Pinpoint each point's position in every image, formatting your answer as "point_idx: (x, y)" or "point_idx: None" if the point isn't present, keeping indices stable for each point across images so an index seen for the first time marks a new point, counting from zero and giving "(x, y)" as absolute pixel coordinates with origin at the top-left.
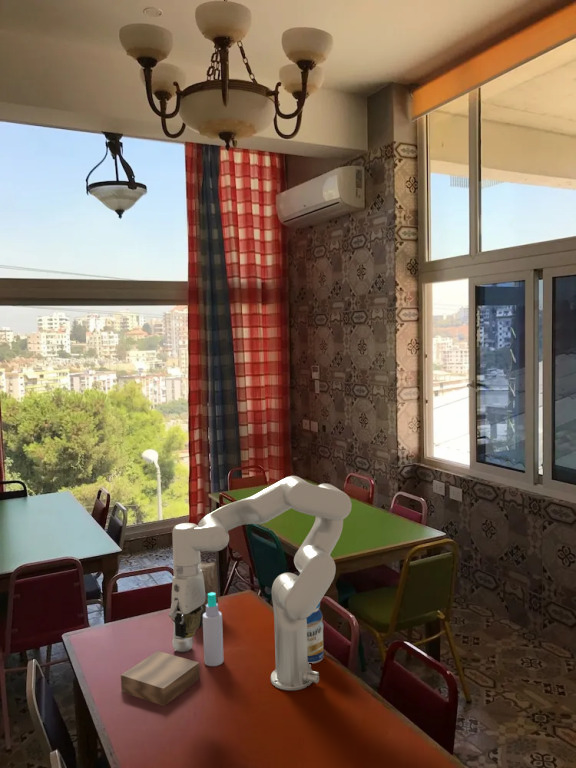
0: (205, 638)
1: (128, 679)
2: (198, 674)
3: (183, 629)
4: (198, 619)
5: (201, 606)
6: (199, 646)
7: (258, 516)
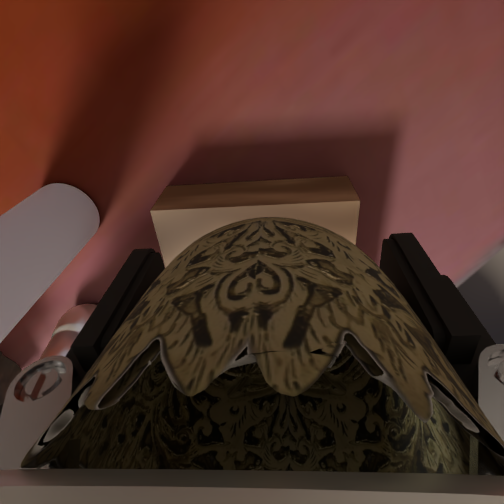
0: (52, 270)
1: None
2: (167, 192)
3: (442, 289)
4: (253, 260)
5: (1, 429)
6: (52, 295)
7: None
